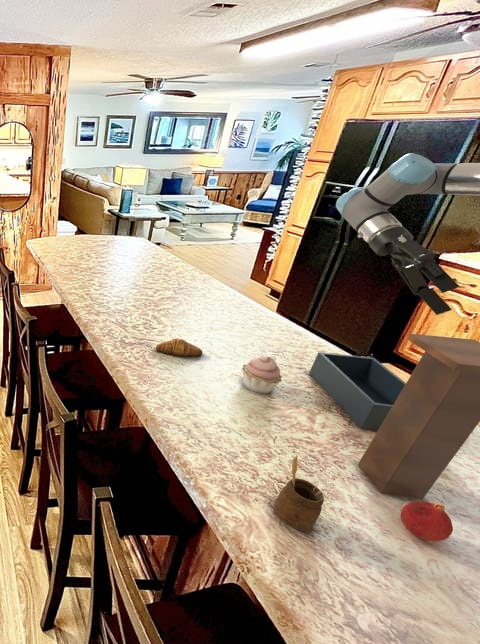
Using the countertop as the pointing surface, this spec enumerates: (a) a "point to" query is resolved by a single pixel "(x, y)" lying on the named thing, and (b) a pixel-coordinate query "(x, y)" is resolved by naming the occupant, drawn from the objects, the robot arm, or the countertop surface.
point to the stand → (427, 418)
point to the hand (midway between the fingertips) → (447, 301)
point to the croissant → (179, 348)
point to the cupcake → (261, 374)
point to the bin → (358, 386)
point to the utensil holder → (299, 502)
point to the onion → (427, 520)
